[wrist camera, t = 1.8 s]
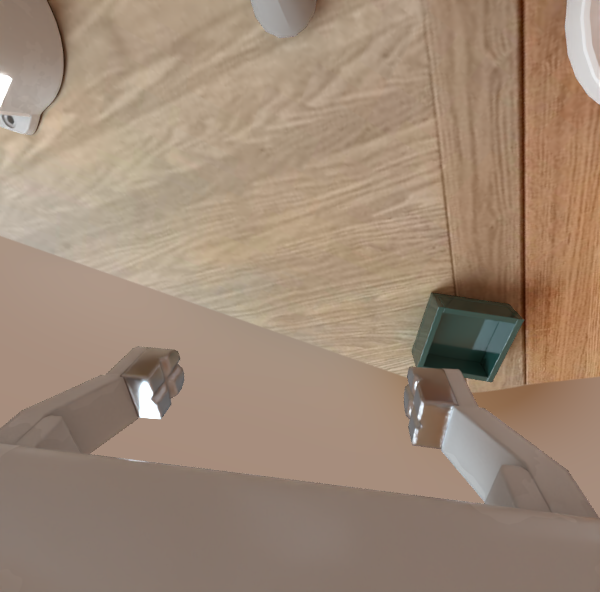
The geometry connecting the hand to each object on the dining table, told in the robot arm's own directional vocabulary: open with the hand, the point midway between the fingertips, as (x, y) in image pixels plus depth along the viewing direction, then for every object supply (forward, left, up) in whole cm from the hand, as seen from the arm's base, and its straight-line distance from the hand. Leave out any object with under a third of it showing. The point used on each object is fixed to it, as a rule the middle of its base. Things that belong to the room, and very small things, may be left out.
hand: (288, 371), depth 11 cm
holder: (+18, -13, -28) cm, 36 cm away
